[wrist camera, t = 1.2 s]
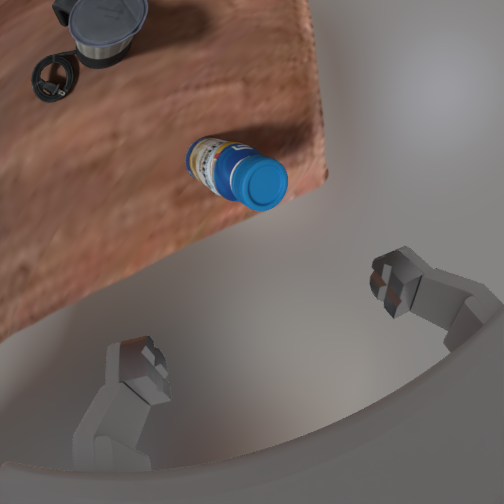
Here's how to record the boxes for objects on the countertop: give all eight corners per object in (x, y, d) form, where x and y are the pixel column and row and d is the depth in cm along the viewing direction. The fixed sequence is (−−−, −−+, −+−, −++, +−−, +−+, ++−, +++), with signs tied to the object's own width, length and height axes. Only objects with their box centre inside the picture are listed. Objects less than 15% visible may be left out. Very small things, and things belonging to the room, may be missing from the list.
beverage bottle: (216, 186, 51) (277, 225, 36) (176, 173, 46) (224, 209, 31) (233, 145, 49) (304, 166, 34) (194, 128, 43) (254, 140, 29)
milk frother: (141, 26, 29) (162, -8, 18) (104, 112, 34) (106, 109, 23) (66, 12, 21) (57, -27, 10) (28, 100, 26) (-3, 94, 15)
